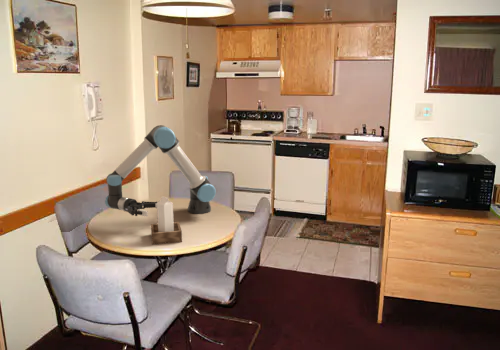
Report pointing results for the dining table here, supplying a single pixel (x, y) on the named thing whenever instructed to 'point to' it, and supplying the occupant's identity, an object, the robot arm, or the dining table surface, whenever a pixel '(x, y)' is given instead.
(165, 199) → the milk
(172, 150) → the robot arm
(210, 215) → the dining table surface
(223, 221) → the dining table surface
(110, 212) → the dining table surface
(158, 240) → the box
